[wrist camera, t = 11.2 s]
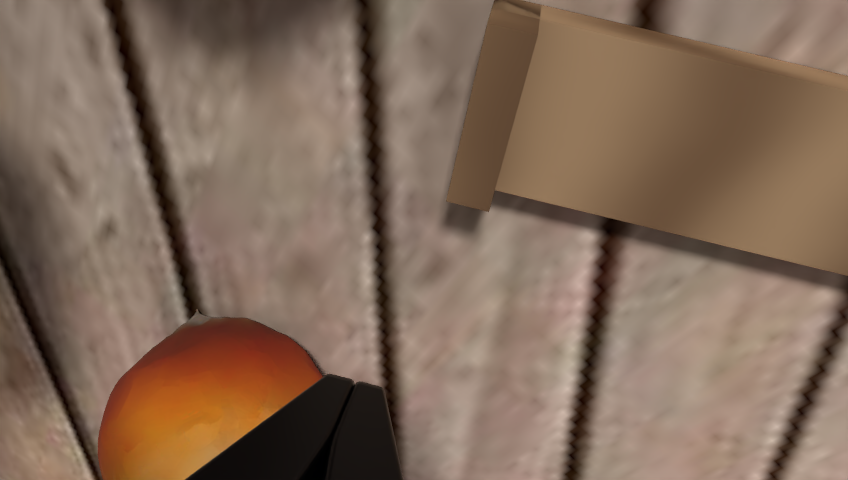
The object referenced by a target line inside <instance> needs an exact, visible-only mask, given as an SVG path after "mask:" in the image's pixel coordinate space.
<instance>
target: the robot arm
mask: <svg viewBox="0 0 848 480" xmlns="http://www.w3.org/2000/svg"><path fill="white" fill-rule="evenodd" d="M185 480H403V475H402V471H401V466H400V461H399V456H398V452H397V447H396V442H395V438H394V433H393V428H392V424H391V419H390V414H389V410H388V405H387V400H386V395H385V392H384V389H383V388H382V387H380V386H376V385H372V384H368V383H364V382H357V383H356V384H354V381H353V380H352V379H349V378H345V377H341V376H337V375H333V374H327V375H325V376H324V377H322V378H321V379H320V380H318V381H317V382H316V383H314V384H313V385H312V386H310V387H309V388H308V389H306V390H305V391H304V392H302V393H301V394H299V395H298V396H297V397H295V398H294V399H293V400H291V401H290V402H289V403H287V404H286V405H285V406H283V407H282V408H281V409H279V410H278V411H277V412H275V413H274V414H273V415H271V416H270V417H268V418H267V419H266V420H264V421H263V422H262V423H260V424H259V425H258V426H256V427H255V428H254V429H252V430H251V431H250V432H248V433H247V434H245V435H244V436H243V437H241V438H240V439H239V440H237V441H236V442H235V443H233V444H232V445H231V446H229V447H228V448H227V449H225V450H224V451H223V452H221V453H220V454H218V455H217V456H216V457H214V458H213V459H212V460H210V461H209V462H208V463H206V464H205V465H204V466H202V467H201V468H200V469H198V470H197V471H196V472H194V473H193V474H191V475H190V476H189V477H187V478H186V479H185Z"/></svg>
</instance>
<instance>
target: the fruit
mask: <svg viewBox="0 0 848 480" xmlns="http://www.w3.org/2000/svg"><path fill="white" fill-rule="evenodd" d="M322 377H323V376H322V375H321V373H320V372H319V370H318V369H317V367H316V366H315V364H314V363H313V361H312V360H311V358H310V357H309V355H308V354H307V352H306V351H305V350H304V349H303V348H302V347H301V346H299V345H298V344H297V343H296V342H295V341H293V340H292V339H291V338H289V337H288V336H286V335H284V334H282V333H279V332H277V331H275V330H273V329H271V328H269V327H267V326H265V325H263V324H261V323H258V322H256V321H253V320H250V319H248V318H230V317H208V316H204V315H202V314H200V313H199V312H198V310H197V309H196V313H195V314H194V316H193V317H192V318H191V319H190V320H189V321H187V322H186V323H185V324H183V325H181V326H180V327H179V328H178V329H177V330H176V331H175V332H174V333H173V334H171V335H170V336H168V337H166V338H165V339H164V340H163V341H162V342H160V343H159V344H158V345H156V346H155V347H153V348H152V349H151V350H150V351H149V352H148V353H147V354H145V355H144V356H143V357H142V358H141V359H140V360H139V361H138V362H137V363H136V364H135V365H134V366H133V367H132V368H131V369H130V370H129V371H127V372H126V373H125V374H124V375H123V376H122V377H121V378H120V380H119V381H118V382H117V384H116V385H115V387H114V389H113V391H112V393H111V394H110V397H109V400H108V402H107V405H106V408H105V411H104V415H103V419H102V423H101V427H100V431H99V437H98V459H99V465H100V470H101V474H102V478H103V480H185V479H186V478H187V477H189V476H190V475H191V474H193V473H194V472H196V471H197V470H198V469H200V468H201V467H202V466H204V465H205V464H206V463H208V462H209V461H210V460H212V459H213V458H214V457H216V456H217V455H218V454H220V453H221V452H223V451H224V450H225V449H227V448H228V447H229V446H231V445H232V444H233V443H235V442H236V441H237V440H239V439H240V438H241V437H243V436H244V435H245V434H247V433H248V432H250V431H251V430H252V429H254V428H255V427H256V426H258V425H259V424H260V423H262V422H263V421H264V420H266V419H267V418H268V417H270V416H271V415H273V414H274V413H275V412H277V411H278V410H279V409H281V408H282V407H283V406H285V405H286V404H287V403H289V402H290V401H291V400H293V399H294V398H295V397H297V396H298V395H299V394H301V393H302V392H304V391H305V390H306V389H308V388H309V387H310V386H312V385H313V384H314V383H316V382H317V381H318V380H320V379H321V378H322Z"/></svg>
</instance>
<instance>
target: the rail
mask: <svg viewBox="0 0 848 480" xmlns="http://www.w3.org/2000/svg"><path fill="white" fill-rule="evenodd" d="M495 190H496V191H500V192H505V193H509V194H513V195H517V196H521V197H525V198H529V199H533V200H538V201H542V202H546V203H550V204H554V205H558V206H562V207H566V208H570V209H575V210H579V211H583V212H587V213H591V214H595V215H599V216H603V217H607V218H612V219H616V220H620V221H624V222H628V223H632V224H636V225H640V226H645V227H649V228H653V229H657V230H661V231H665V232H669V233H673V234H677V235H682V236H686V237H690V238H694V239H698V240H702V241H706V242H710V243H715V244H719V245H723V246H727V247H731V248H735V249H739V250H743V251H747V252H752V253H756V254H760V255H764V256H768V257H772V258H776V259H780V260H785V261H789V262H793V263H797V264H801V265H805V266H809V267H813V268H817V269H822V270H826V271H830V272H834V273H838V274H842V275H846V276H848V76H845V75H841V74H837V73H832V72H828V71H824V70H819V69H815V68H811V67H806V66H802V65H798V64H793V63H789V62H785V61H781V60H776V59H772V58H768V57H763V56H759V55H755V54H750V53H746V52H742V51H737V50H733V49H729V48H725V47H720V46H716V45H712V44H707V43H703V42H699V41H694V40H690V39H686V38H681V37H677V36H673V35H669V34H664V33H660V32H656V31H651V30H647V29H643V28H638V27H634V26H630V25H625V24H621V23H617V22H613V21H608V20H604V19H600V18H595V17H591V16H587V15H582V14H578V13H574V12H570V11H565V10H561V9H557V8H552V7H548V6H544V5H539V4H535V3H531V2H526V1H522V0H494V4H493V7H492V10H491V13H490V17H489V20H488V23H487V27H486V32H485V36H484V40H483V44H482V49H481V53H480V57H479V62H478V66H477V70H476V75H475V79H474V83H473V87H472V92H471V96H470V100H469V105H468V109H467V113H466V118H465V122H464V126H463V131H462V135H461V139H460V143H459V148H458V152H457V156H456V161H455V165H454V169H453V174H452V178H451V182H450V187H449V191H448V195H447V199H446V201H447V202H451V203H455V204H459V205H463V206H467V207H471V208H475V209H479V210H483V211H488V212H489V209H490V206H491V202H492V199H493V195H494V191H495Z"/></svg>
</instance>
